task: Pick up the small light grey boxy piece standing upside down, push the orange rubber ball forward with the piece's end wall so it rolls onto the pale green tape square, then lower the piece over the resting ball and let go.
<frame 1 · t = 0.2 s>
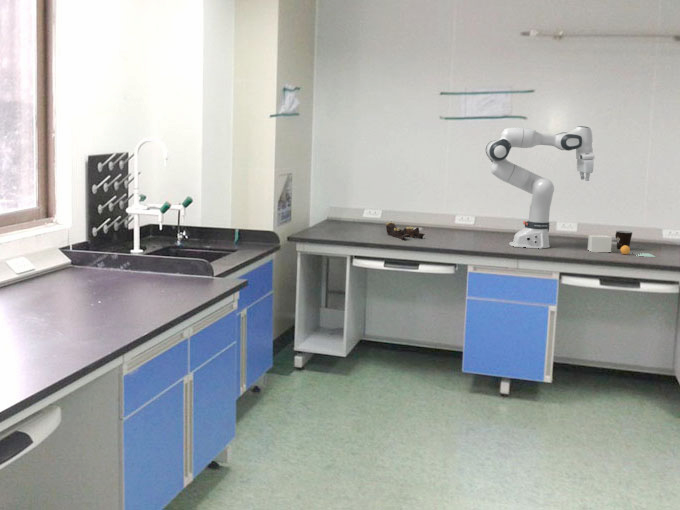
hand: (584, 180, 443), 38 cm above the table, tool pointing down, fingers open, 8 cm apart
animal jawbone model: (405, 237, 470), on the table
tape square: (643, 255, 431), on the table
light grey boxy piece: (599, 251, 439), on the table
coffee mug: (622, 249, 451), on the table
ball: (625, 249, 431), on the table
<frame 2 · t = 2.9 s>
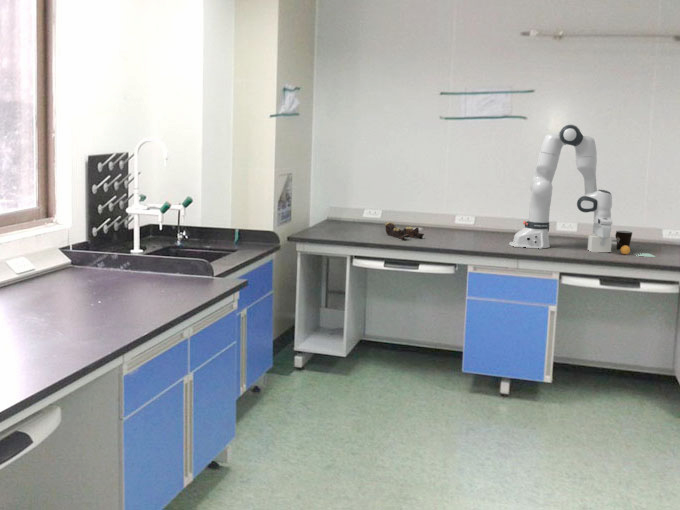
hand: (599, 244, 438), 4 cm above the table, tool pointing down, fingers closed on light grey boxy piece, 7 cm apart
light grey boxy piece: (599, 251, 439), on the table, touching gripper
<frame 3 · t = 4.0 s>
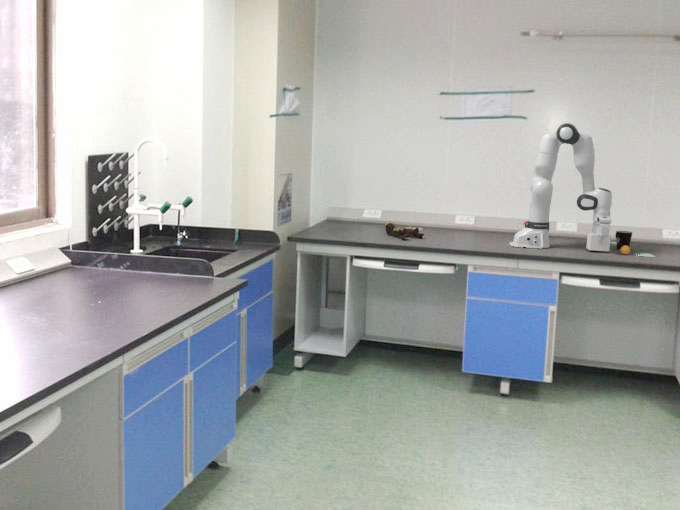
hand: (598, 242, 438), 5 cm above the table, tool pointing down, fingers closed on light grey boxy piece, 7 cm apart
light grey boxy piece: (597, 249, 438), point 1 cm above the table, touching gripper
everything else where it was.
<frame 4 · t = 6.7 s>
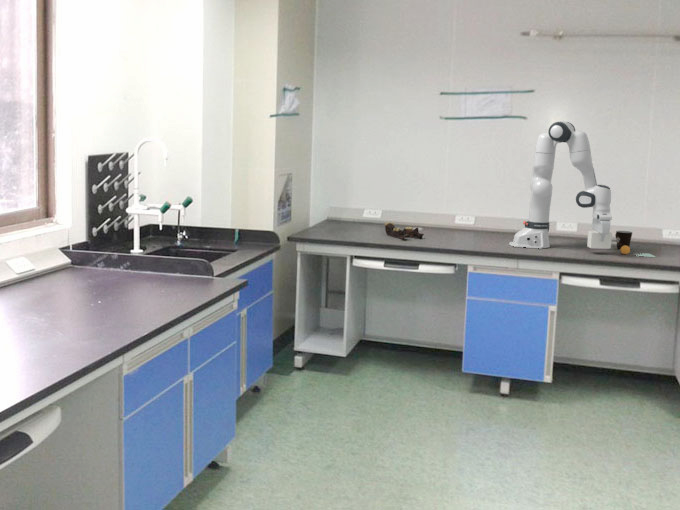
hand: (599, 240, 430), 7 cm above the table, tool pointing down, fingers closed on light grey boxy piece, 7 cm apart
light grey boxy piece: (598, 247, 431), point 3 cm above the table, touching gripper
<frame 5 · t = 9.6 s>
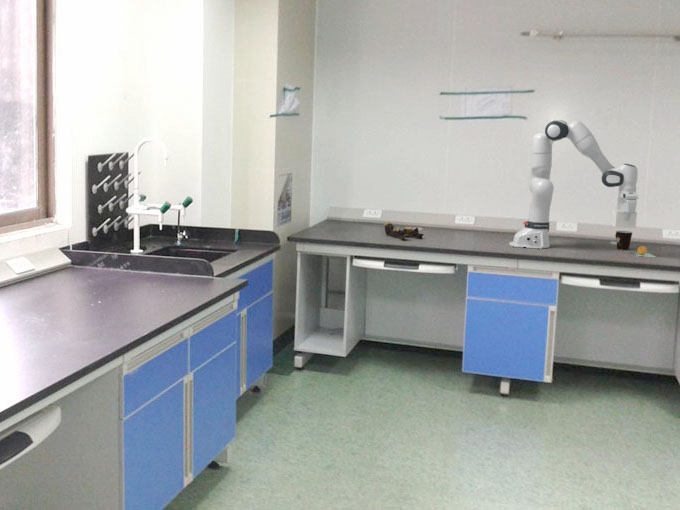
hand: (624, 219, 428), 19 cm above the table, tool pointing down, fingers closed on light grey boxy piece, 7 cm apart
light grey boxy piece: (623, 226, 429), point 15 cm above the table, touching gripper
ball: (642, 250, 431), on the table
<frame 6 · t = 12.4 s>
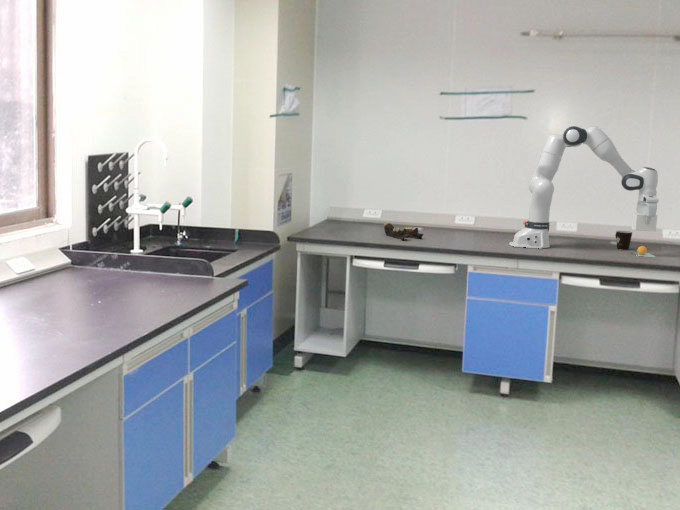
hand: (644, 223, 428), 18 cm above the table, tool pointing down, fingers closed on light grey boxy piece, 7 cm apart
light grey boxy piece: (643, 230, 429), point 14 cm above the table, touching gripper
when the fingers open (4 cm above the table, at t = 15.2 s): light grey boxy piece stays where it is, on the table.
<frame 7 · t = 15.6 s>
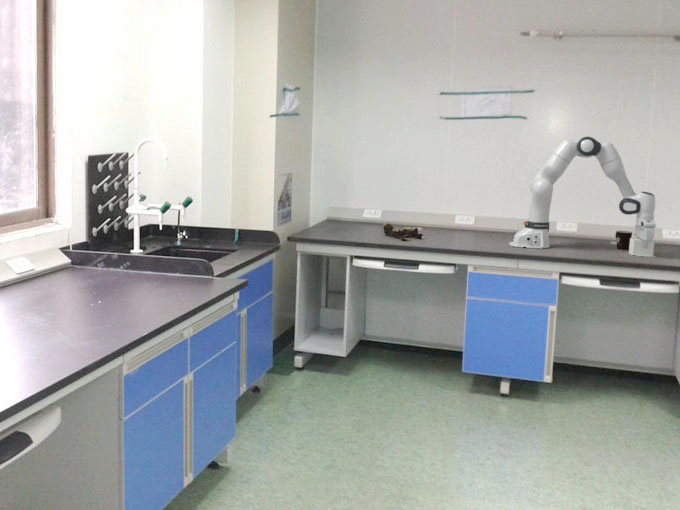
hand: (642, 247, 431), 4 cm above the table, tool pointing down, fingers open, 8 cm apart
light grey boxy piece: (640, 255, 431), on the table
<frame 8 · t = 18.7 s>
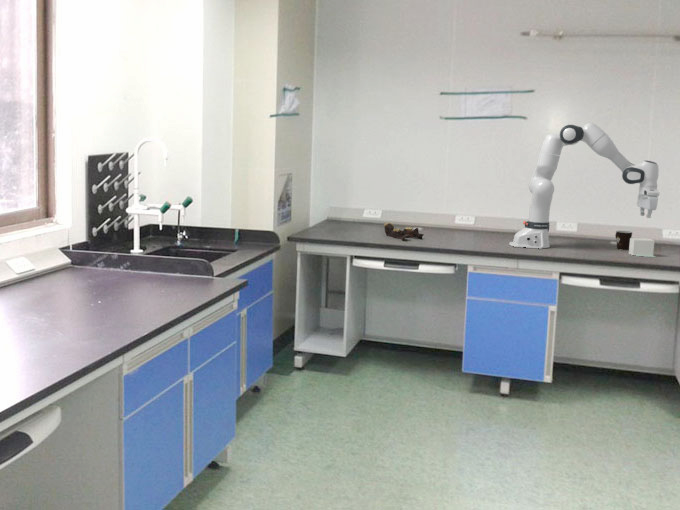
hand: (645, 216, 428), 21 cm above the table, tool pointing down, fingers open, 8 cm apart
at the end: ball 0.5 cm from the light grey boxy piece (horizontally); light grey boxy piece on the table; ball moved 9.1 cm from its start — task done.
